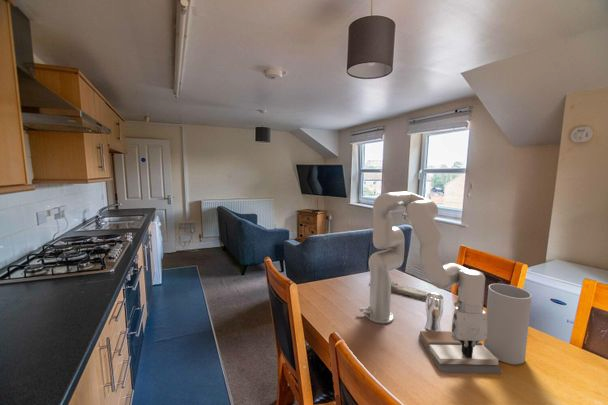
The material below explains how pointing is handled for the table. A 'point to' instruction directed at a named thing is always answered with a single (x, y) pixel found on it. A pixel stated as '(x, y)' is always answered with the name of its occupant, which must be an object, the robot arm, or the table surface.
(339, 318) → the table surface
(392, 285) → the long grey stone
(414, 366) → the table surface
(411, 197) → the robot arm
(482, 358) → the loose plank
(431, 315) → the beer glass
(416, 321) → the table surface
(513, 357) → the cylinder vase
